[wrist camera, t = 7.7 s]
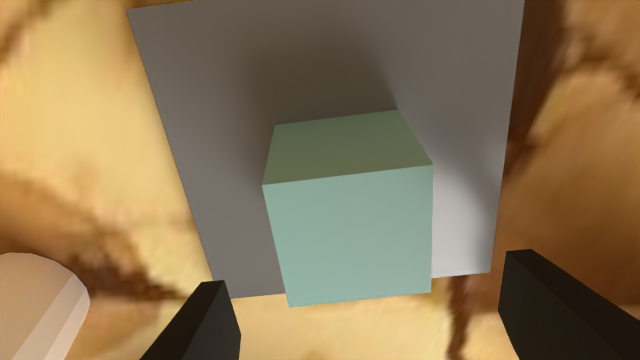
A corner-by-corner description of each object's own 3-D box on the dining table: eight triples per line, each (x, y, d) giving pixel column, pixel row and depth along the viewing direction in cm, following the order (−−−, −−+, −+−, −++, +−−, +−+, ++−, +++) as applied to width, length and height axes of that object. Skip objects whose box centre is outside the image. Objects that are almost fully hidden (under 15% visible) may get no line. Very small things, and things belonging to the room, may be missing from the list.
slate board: (518, -42, 14) (530, -42, 13) (484, 261, 20) (490, 272, 20) (134, 7, 14) (125, 9, 14) (223, 288, 21) (220, 299, 20)
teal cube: (398, 109, 16) (433, 164, 11) (401, 213, 18) (431, 292, 13) (274, 125, 16) (261, 185, 11) (294, 225, 18) (288, 307, 14)
